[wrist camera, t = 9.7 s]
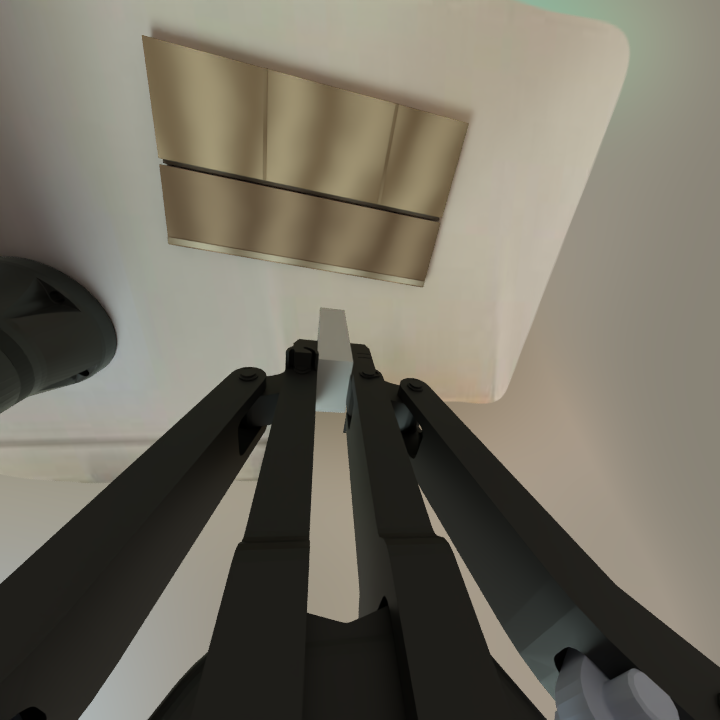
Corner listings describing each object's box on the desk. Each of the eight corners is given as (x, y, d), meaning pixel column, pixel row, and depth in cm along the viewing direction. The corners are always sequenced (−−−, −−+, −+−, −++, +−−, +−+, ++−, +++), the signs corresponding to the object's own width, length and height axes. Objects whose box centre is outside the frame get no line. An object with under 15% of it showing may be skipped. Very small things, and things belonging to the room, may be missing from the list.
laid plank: (166, 163, 26) (158, 161, 25) (150, 43, 23) (141, 34, 21) (437, 220, 31) (441, 220, 29) (463, 126, 27) (469, 123, 26)
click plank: (174, 243, 30) (168, 244, 28) (166, 166, 27) (158, 164, 25) (420, 285, 34) (423, 287, 33) (436, 222, 31) (440, 222, 29)
